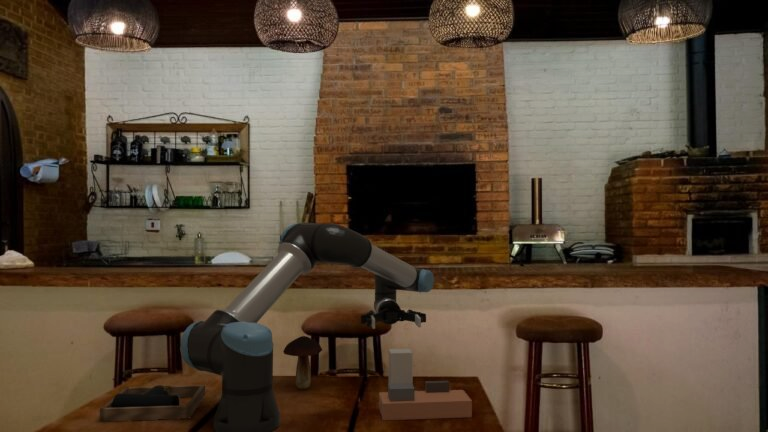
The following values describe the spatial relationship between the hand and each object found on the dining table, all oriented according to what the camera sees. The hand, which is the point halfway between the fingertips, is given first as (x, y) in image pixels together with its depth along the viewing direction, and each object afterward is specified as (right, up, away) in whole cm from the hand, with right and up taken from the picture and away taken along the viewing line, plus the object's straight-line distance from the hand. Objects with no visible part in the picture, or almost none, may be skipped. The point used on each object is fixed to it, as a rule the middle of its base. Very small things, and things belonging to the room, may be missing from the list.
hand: (396, 323), depth 170 cm
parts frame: (-62, -18, -22) cm, 68 cm away
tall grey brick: (+1, -18, -10) cm, 20 cm away
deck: (+6, -18, -22) cm, 28 cm away
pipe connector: (-63, -18, -23) cm, 69 cm away
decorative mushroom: (-27, -18, -5) cm, 33 cm away
